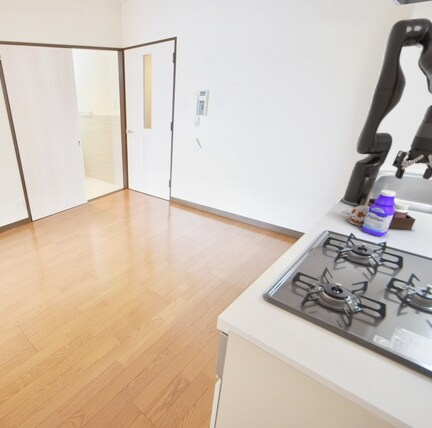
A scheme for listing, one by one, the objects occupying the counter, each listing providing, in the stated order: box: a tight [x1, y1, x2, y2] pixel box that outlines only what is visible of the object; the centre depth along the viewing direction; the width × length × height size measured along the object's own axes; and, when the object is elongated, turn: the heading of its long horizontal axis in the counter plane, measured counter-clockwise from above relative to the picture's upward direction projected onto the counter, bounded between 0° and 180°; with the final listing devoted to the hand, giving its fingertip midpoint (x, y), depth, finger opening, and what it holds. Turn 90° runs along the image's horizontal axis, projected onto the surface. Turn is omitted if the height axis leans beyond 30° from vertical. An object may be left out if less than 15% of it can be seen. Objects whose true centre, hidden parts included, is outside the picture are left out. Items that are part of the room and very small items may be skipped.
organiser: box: [359, 198, 416, 231], centre depth 120 cm, size 21×8×5 cm, turn 167°
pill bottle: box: [393, 202, 410, 218], centre depth 112 cm, size 5×5×8 cm
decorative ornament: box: [347, 189, 374, 227], centre depth 114 cm, size 8×8×15 cm
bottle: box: [362, 189, 397, 237], centre depth 106 cm, size 7×6×17 cm
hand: (411, 178), depth 106 cm, fingers open, 8 cm apart
